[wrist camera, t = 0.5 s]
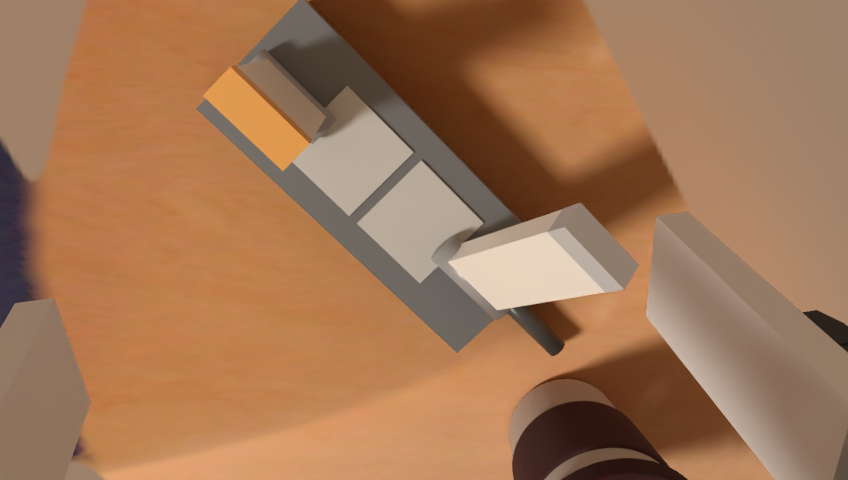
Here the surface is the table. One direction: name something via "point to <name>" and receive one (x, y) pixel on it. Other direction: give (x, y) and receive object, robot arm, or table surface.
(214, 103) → the orange-capped paddle
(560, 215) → the grey-capped paddle
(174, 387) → the table surface
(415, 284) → the power strip
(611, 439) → the coffee cup
